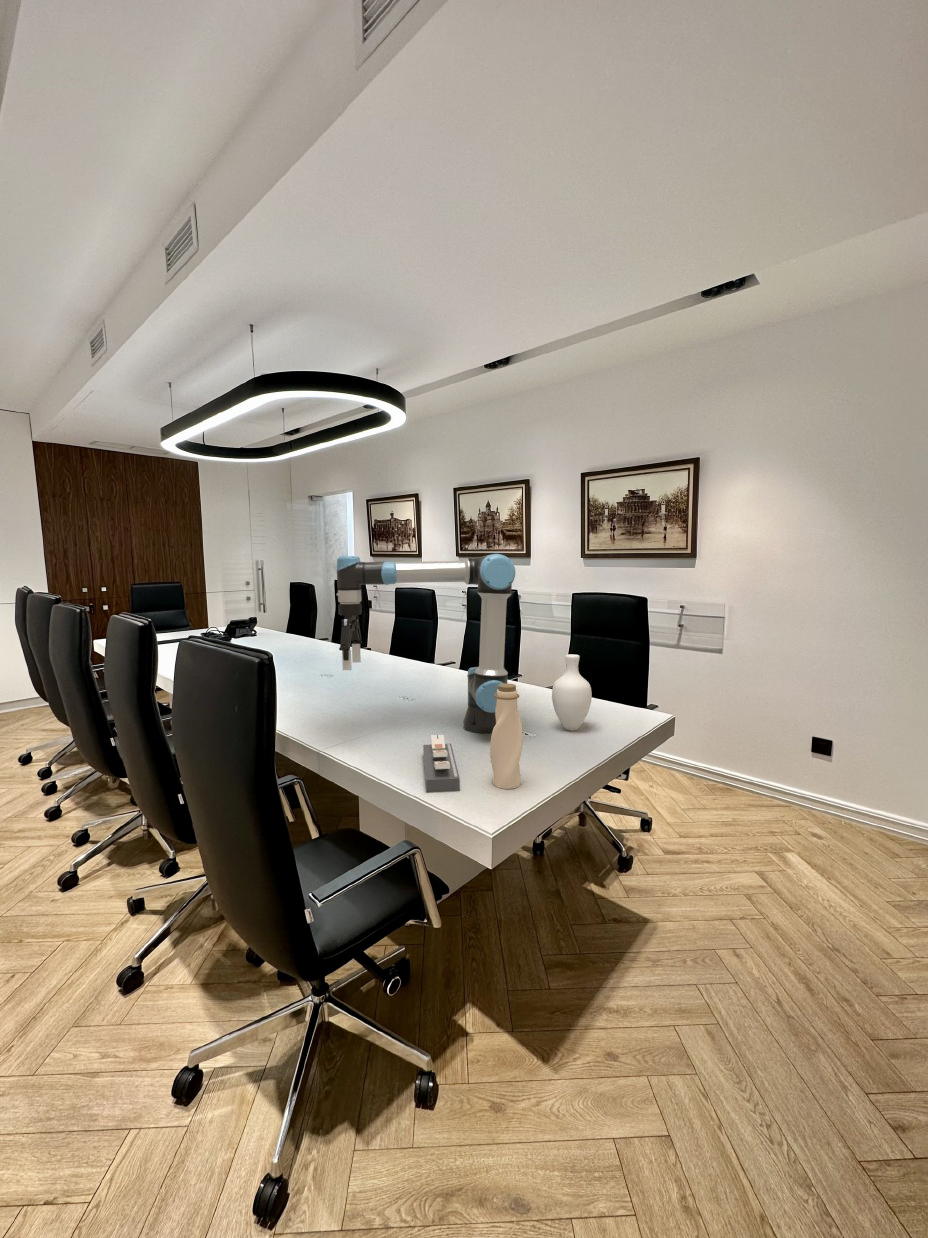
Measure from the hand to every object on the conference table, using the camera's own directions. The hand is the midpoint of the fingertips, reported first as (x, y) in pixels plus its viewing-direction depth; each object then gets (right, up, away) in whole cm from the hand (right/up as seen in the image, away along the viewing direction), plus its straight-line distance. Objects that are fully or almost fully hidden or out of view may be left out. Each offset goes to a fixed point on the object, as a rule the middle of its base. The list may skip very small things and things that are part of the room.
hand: (352, 666), depth 175 cm
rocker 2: (+30, -24, -21) cm, 44 cm away
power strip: (+30, -29, -16) cm, 45 cm away
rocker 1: (+29, -23, -12) cm, 39 cm away
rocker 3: (+31, -25, -30) cm, 50 cm away
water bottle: (+49, -30, -28) cm, 64 cm away
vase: (+78, -26, +19) cm, 84 cm away
